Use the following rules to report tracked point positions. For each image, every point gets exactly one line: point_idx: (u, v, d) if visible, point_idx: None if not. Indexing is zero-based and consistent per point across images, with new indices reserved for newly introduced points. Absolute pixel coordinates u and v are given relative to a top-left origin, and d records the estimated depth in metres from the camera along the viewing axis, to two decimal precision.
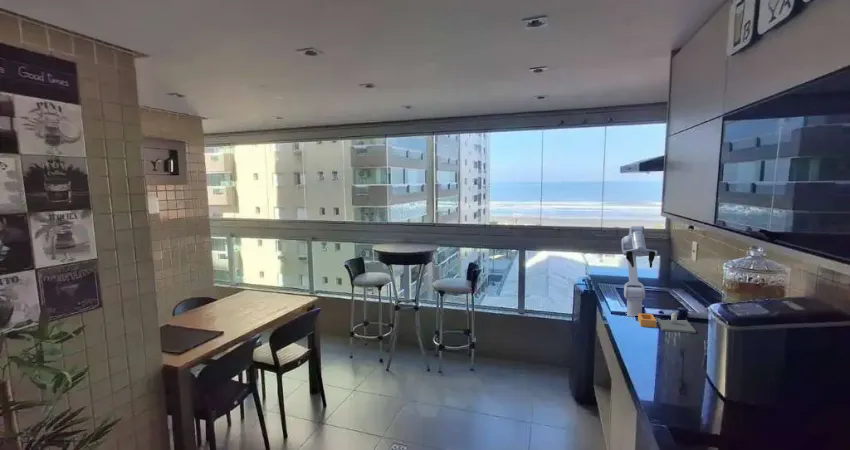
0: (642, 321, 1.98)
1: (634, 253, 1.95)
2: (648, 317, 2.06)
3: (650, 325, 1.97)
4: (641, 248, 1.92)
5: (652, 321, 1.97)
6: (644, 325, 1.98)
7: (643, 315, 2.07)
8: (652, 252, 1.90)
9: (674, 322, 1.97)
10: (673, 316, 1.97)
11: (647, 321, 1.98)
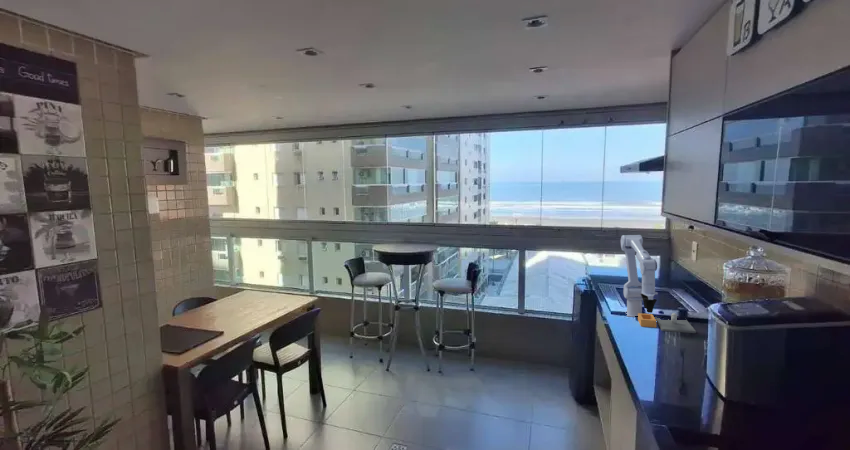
0: (642, 321, 1.98)
1: None
2: (648, 317, 2.06)
3: (650, 325, 1.97)
4: None
5: (652, 321, 1.97)
6: (644, 325, 1.98)
7: (643, 315, 2.07)
8: None
9: (674, 322, 1.97)
10: (673, 316, 1.97)
11: (647, 321, 1.98)
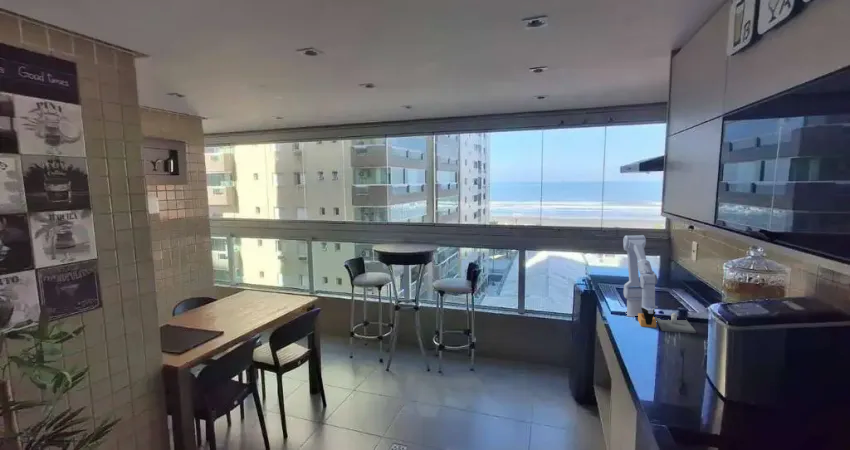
0: (642, 321, 1.98)
1: None
2: None
3: (650, 325, 1.97)
4: None
5: (652, 321, 1.97)
6: (644, 325, 1.98)
7: (643, 315, 2.07)
8: None
9: (674, 322, 1.97)
10: (673, 316, 1.97)
11: None
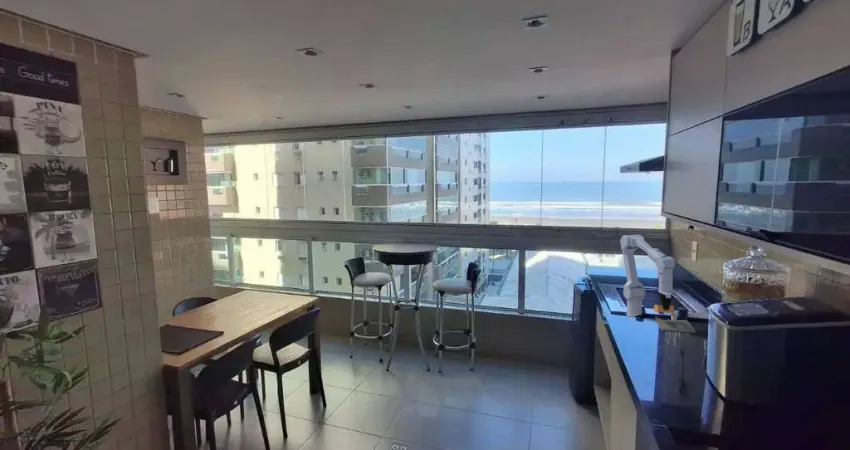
0: (659, 306, 1.95)
1: None
2: None
3: (667, 310, 1.94)
4: None
5: None
6: (661, 311, 1.95)
7: None
8: None
9: (674, 322, 1.97)
10: (673, 316, 1.97)
11: None
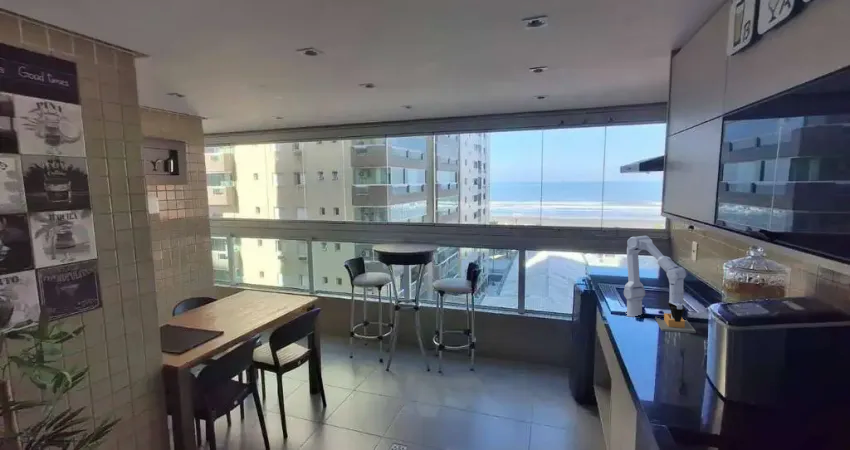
0: (670, 321, 1.94)
1: None
2: None
3: (678, 325, 1.92)
4: None
5: (680, 321, 1.92)
6: (672, 325, 1.93)
7: (670, 315, 2.02)
8: None
9: None
10: None
11: None
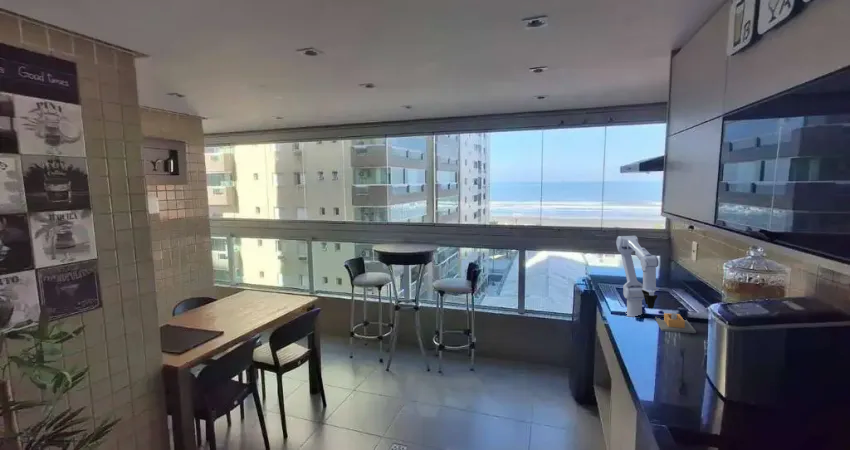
0: (670, 321, 1.94)
1: None
2: None
3: (678, 325, 1.92)
4: None
5: (680, 321, 1.92)
6: (672, 325, 1.93)
7: (670, 315, 2.02)
8: None
9: None
10: (673, 316, 1.97)
11: (675, 321, 1.93)
